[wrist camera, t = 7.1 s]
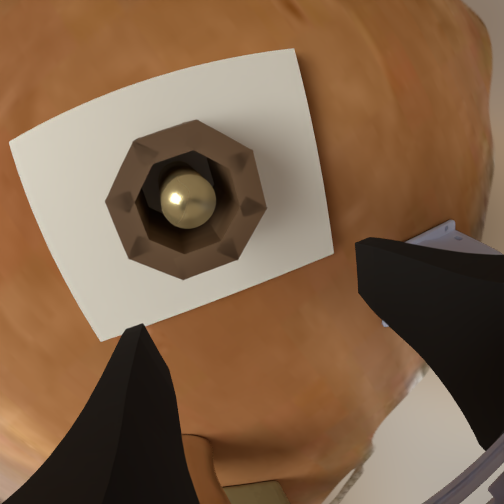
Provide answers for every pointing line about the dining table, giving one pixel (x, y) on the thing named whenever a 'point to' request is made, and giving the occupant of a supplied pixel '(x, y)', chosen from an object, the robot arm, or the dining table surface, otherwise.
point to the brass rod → (185, 195)
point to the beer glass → (203, 470)
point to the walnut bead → (199, 238)
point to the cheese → (257, 493)
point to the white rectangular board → (107, 167)
